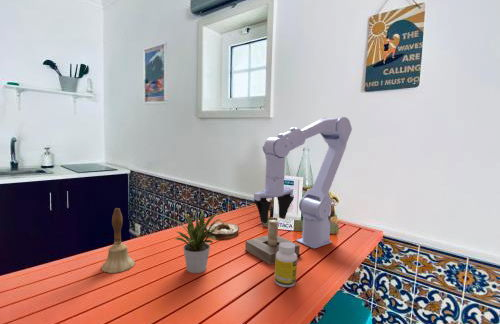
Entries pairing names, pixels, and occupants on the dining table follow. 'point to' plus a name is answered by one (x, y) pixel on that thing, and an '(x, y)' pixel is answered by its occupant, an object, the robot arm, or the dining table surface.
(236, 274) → the dining table surface
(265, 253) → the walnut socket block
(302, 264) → the dining table surface
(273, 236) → the beech peg
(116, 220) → the hand bell
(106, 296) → the dining table surface
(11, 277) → the dining table surface
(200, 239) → the house plant
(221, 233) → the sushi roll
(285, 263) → the supplement bottle
